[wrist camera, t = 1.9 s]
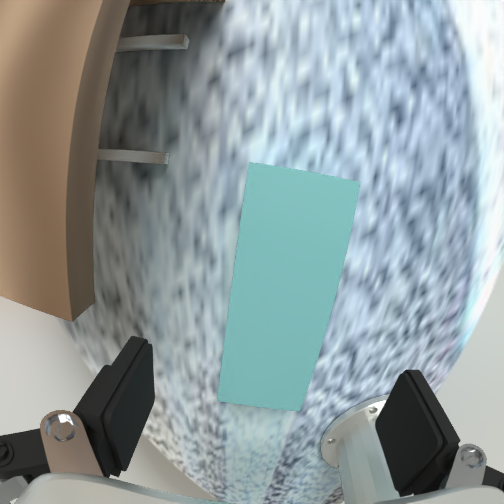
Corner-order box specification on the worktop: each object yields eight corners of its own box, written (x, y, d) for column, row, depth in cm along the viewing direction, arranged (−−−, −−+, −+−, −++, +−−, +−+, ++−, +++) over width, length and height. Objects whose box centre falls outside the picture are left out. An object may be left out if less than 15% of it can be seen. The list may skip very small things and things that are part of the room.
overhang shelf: (228, -13, 17) (187, -147, 3) (188, 225, 22) (72, 322, 8) (77, 4, 17) (-27, -56, 3) (41, 205, 22) (-93, 250, 8)
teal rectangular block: (254, 162, 20) (249, 162, 16) (340, 178, 20) (360, 182, 15) (225, 361, 25) (217, 400, 20) (295, 371, 25) (299, 411, 20)
